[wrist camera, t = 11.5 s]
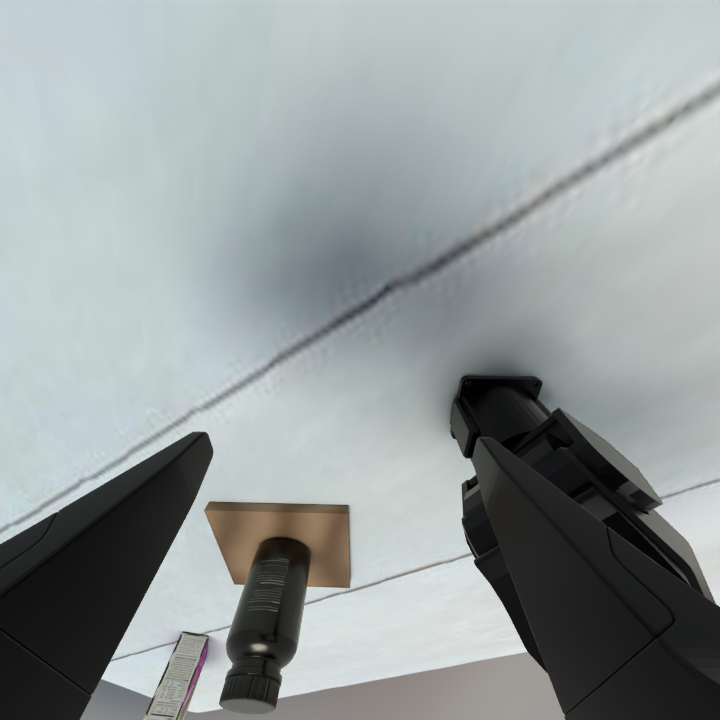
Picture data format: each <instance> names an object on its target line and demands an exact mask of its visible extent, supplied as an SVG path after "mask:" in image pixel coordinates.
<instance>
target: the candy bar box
mask: <svg viewBox="0 0 720 720" xmlns="http://www.w3.org/2000/svg"><path fill="white" fill-rule="evenodd" d="M207 643H208V636H206V635H201V634H193V633H184V632H182V633H181V635H180V638H179V640H178V642H177V645H176V647H175V649H174V651H173V653H172V656H171V658H170V660H169V662H168V664H167V667H166V669H165V671H164V674H163V676H162V678H161V680H160V683H159V685H158V687H157V689H156V691H155V694H154V696H153V698H152V701H151V703H150V705H149V707H148V710H147V712H146V714H145V716H144V719H143V720H184V717H185V715H186V712H187V709H188V707H189V704H190V701H191V698H192V695H193V693H194V690H195V687H196V684H197V682H198V679H199V676H200V673H201V670H202V668H203V665H204V662H205V660H206V650H207Z"/></svg>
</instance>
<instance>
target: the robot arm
mask: <svg viewBox="0 0 720 720" xmlns="http://www.w3.org/2000/svg"><path fill="white" fill-rule="evenodd" d="M467 381H470V382H469V383H468V384H465V383H466V382H467ZM535 382H536V384H534V385H533V383H535ZM541 386H542V381H541V380H540V379H539V378H537V377H495V376H465V377H463V378H462V379H461V382H460V387H459V392H458V397H457V399H455V401H454V403H453V408H452V413H451V419H450V425H451V436H452V437H453V438H454V439H456V440H457V442H458V444H459V447H460V449H461V452H462V454H463V456H464V457H465V458H470V459H471V461H472V463H473V465H474V468H475V471H476V475H475V476H474V477H473V478H471V479H470V480H466V481H465V482H464V483H463V484H462V501H463V518H462V526H463V528H464V533H465V537H466V541H467V544H468V545H469V547H470V550H471V552H472V553H473V555H474V557H475V560H474V563H475V565H476V567H477V568H478V569H479V570H480V572H481V573H482V574H483V575H484V577H485V578H486V579H487V580H488V582H489V583H490V584H491V586H492V587H493V589H494V590H495V592H496V594H497V595H498V597H499V598H500V600H501V601H502V603H503V605H504V607H505V609H506V610H507V612H508V614H509V616H510V618H511V620H512V622H513V624H514V626H515V628H516V630H517V632H518V634H519V636H520V638H521V640H522V642H523V644H524V646H525V648H526V649H527V651H528V652H529V653H530V655H531V656H532V657H533V658H534V659H535V660H536V661H537V662H538V663H539V665H540V666H541V667H542V668H543V669H544V670H545V671H546V672H547V673H548V675H549V677H550V680H551V682H552V685H553V688H554V690H555V693H556V696H557V698H558V701H559V703H560V706H561V708H562V711H563V713H564V714H565V720H720V607H719V606H718V605H716V603H715V601H714V599H713V596H712V594H711V592H710V589H709V587H708V585H707V582H706V580H705V578H704V576H703V573H702V571H701V569H700V566H699V564H698V562H697V559H696V557H695V555H694V552H693V550H692V548H691V546H690V545H689V543H688V542H687V541H686V540H685V538H684V537H683V536H682V535H680V534H679V533H678V532H677V531H676V530H675V529H674V528H673V527H672V526H671V525H670V524H669V523H668V522H667V521H666V520H665V519H663V518H662V517H661V516H660V515H659V514H658V513H657V512H656V511H655V510H654V508H656V507H658V506H660V505H662V504H663V503H662V501H661V500H660V498H659V497H658V495H657V494H656V493H655V491H654V490H653V489H652V487H651V486H650V484H649V483H648V482H647V480H646V479H645V478H644V476H643V475H642V474H641V472H640V471H639V469H638V468H637V467H636V466H634V465H633V464H632V463H631V462H630V461H629V460H628V459H626V458H625V457H624V456H623V455H622V454H621V453H619V452H618V451H617V450H616V449H615V448H614V447H613V446H611V445H610V444H609V443H608V442H607V441H606V440H604V439H603V438H602V437H600V436H599V435H597V434H596V433H595V432H593V431H592V430H590V429H589V428H587V427H586V426H585V425H583V424H582V423H580V422H579V421H577V420H576V419H575V418H573V417H572V416H570V415H569V414H567V413H566V412H565V411H563V410H562V409H560V408H557V409H556V410H555V411H554V412H552V413H551V412H550V411H549V410H548V409H547V408H546V407H545V406H544V405H543V404H542V403H541V402H540V401H539V400H538V399H537V397H538V395H539V392H540V389H541ZM212 457H213V448H212V445H211V442H210V439H209V436H208V434H207V433H206V432H192V433H190V434H188V435H187V436H185V437H183V438H182V439H180V440H178V441H177V442H175V443H173V444H171V445H170V446H168V447H166V448H165V449H163V450H161V451H159V452H158V453H156V454H154V455H153V456H151V457H149V458H148V459H146V460H144V461H142V462H141V463H139V464H137V465H136V466H134V467H132V468H131V469H129V470H127V471H125V472H124V473H122V474H120V475H119V476H117V477H115V478H113V479H112V480H110V481H108V482H107V483H105V484H103V485H102V486H100V487H98V488H96V489H95V490H93V491H91V492H90V493H88V494H86V495H85V496H83V497H81V498H79V499H78V500H76V501H74V502H73V503H71V504H69V505H67V506H66V507H64V508H62V509H61V510H59V512H56V513H54V514H52V515H50V516H49V517H47V518H45V519H44V520H42V521H40V522H38V523H37V524H35V525H33V526H32V527H30V528H28V529H26V530H25V531H23V532H21V533H19V534H18V535H16V536H14V537H12V538H11V539H9V540H7V541H5V542H3V543H2V544H0V720H80V718H81V716H82V714H83V712H84V710H85V708H86V706H87V704H88V702H89V701H90V699H91V694H93V692H94V691H95V689H96V687H97V685H98V683H99V681H100V679H101V677H102V675H103V674H104V672H105V670H106V668H107V666H108V664H109V662H110V660H111V658H112V656H113V655H114V653H115V651H116V649H117V647H118V645H119V643H120V641H121V639H122V638H123V636H124V634H125V632H126V630H127V628H128V626H129V624H130V622H131V620H132V619H133V617H134V615H135V613H136V611H137V609H138V607H139V605H140V603H141V601H142V600H143V598H144V596H145V594H146V592H147V590H148V588H149V586H150V584H151V582H152V581H153V579H154V577H155V575H156V573H157V571H158V569H159V567H160V565H161V564H162V562H163V560H164V558H165V556H166V554H167V552H168V550H169V548H170V546H171V545H172V543H173V541H174V539H175V537H176V535H177V533H178V531H179V529H180V527H181V526H182V524H183V522H184V520H185V518H186V516H187V514H188V512H189V510H190V508H191V506H192V504H193V502H194V500H195V498H196V496H197V494H198V491H199V489H200V486H201V484H202V481H203V479H204V476H205V474H206V472H207V469H208V467H209V464H210V462H211V459H212Z"/></svg>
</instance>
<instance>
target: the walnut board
mask: <svg viewBox="0 0 720 720" xmlns="http://www.w3.org/2000/svg"><path fill="white" fill-rule="evenodd" d="M204 511H205V514H206V516H207V519H208V521H209V523H210V526H211V528H212V531H213V533H214V536H215V538H216V541H217V543H218V545H219V548H220V550H221V553H222V555H223V558H224V560H225V563H226V565H227V568H228V570H229V572H230V575H231V577H232V580H233V582H234V584H241V585H245V583H246V580H247V577H248V574H249V571H250V567H251V564H252V561H253V559H254V556H255V553H256V550H257V549H258V547H259V546H260V545H261V544H262V543H264V542H266V541H268V540H271V539H290V540H294V541H297V542H299V543H301V544H302V545H304V546H305V547H306V548H307V549H308V550H309V552H310V555H311V564H310V571H309V577H308V584H307V587H338V588H350V550H349V515H348V505H308V504H267V503H226V502H209V503H208V505H207V506H206V508H205V510H204Z"/></svg>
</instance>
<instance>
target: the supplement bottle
mask: <svg viewBox="0 0 720 720" xmlns="http://www.w3.org/2000/svg"><path fill="white" fill-rule="evenodd" d="M310 564H311V555H310V552H309V550H308V549H307V548H306V547H305V546H304V545H302V544H301V543H299V542H297V541H294V540H290V539H271V540H268V541H266V542H264V543H262V544H261V545H260V546H259V547H258V549H257V550H256V553H255V556H254V559H253V561H252V564H251V567H250V571H249V574H248V577H247V580H246V583H245V586H244V589H243V592H242V595H241V598H240V601H239V604H238V607H237V610H236V613H235V616H234V619H233V622H232V625H231V628H230V631H229V635H228V638H227V643H226V650H227V655H228V657H229V659H230V660H231V662H232V663H233V665H232V668H231V669H230V670H229V671H228V672H227V675H226V679H225V684H224V688H223V691H222V694H221V697H220V702H219V705H220V706H221V707H222V708H224V709H227V710H229V711H233V712H238V713H244V714H265V713H270V712H272V711H274V710H275V708H276V704H277V699H278V694H279V688H280V686H281V682H282V676H281V675H280V671H281V669H282V668H283V667H285V666H286V665H287V664H288V663H289V662H290V661H291V660H292V659H293V657H294V655H295V653H296V650H297V646H298V641H299V634H300V628H301V622H302V615H303V609H304V603H305V596H306V590H307V584H308V577H309V571H310Z"/></svg>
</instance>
